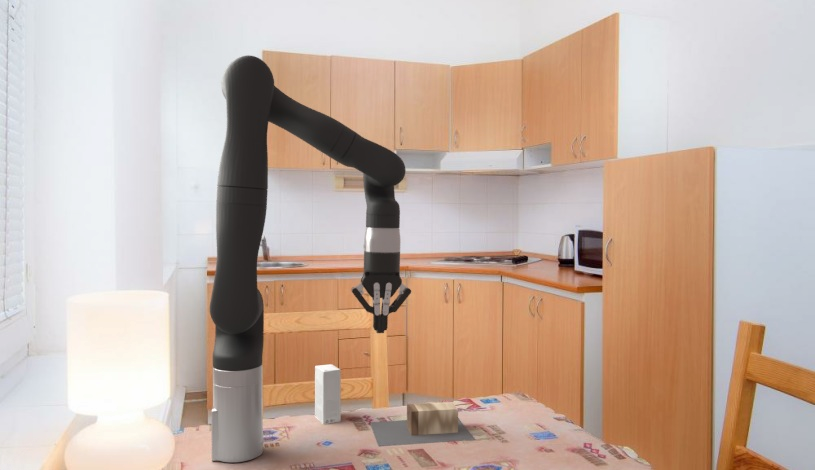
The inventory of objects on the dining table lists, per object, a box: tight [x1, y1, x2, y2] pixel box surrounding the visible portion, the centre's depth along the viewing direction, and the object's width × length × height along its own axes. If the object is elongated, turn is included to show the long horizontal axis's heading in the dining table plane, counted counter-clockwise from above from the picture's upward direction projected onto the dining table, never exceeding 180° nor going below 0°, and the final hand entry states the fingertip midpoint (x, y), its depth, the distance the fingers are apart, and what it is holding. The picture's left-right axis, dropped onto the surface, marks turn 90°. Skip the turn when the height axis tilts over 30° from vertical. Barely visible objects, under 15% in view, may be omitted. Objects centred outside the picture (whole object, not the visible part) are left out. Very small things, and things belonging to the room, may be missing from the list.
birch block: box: [406, 401, 459, 436], centre depth 130 cm, size 5×5×10 cm
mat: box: [369, 417, 476, 447], centre depth 129 cm, size 20×14×1 cm
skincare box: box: [314, 363, 342, 425], centre depth 137 cm, size 6×4×12 cm
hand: (380, 332), depth 127 cm, fingers closed
